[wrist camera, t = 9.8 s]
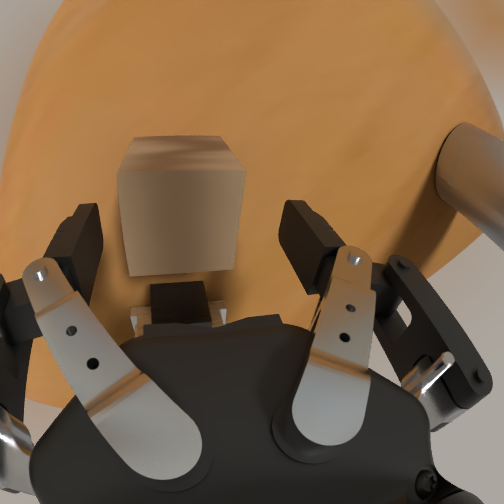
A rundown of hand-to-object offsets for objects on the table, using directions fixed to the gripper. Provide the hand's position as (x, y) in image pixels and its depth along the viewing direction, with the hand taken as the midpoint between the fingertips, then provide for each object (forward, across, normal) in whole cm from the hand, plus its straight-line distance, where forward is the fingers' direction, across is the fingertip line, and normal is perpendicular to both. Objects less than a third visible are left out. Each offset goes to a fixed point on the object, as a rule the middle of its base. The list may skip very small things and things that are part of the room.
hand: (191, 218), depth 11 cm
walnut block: (+6, +1, 0) cm, 6 cm away
